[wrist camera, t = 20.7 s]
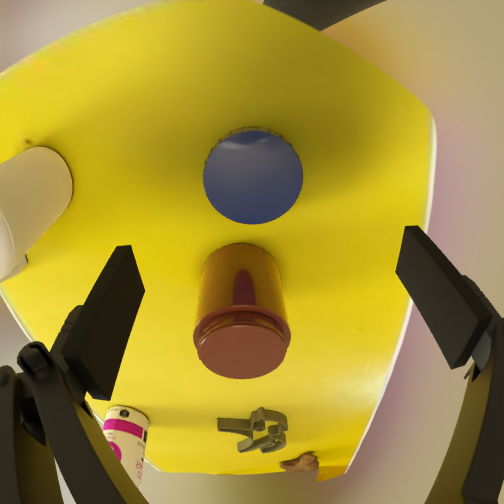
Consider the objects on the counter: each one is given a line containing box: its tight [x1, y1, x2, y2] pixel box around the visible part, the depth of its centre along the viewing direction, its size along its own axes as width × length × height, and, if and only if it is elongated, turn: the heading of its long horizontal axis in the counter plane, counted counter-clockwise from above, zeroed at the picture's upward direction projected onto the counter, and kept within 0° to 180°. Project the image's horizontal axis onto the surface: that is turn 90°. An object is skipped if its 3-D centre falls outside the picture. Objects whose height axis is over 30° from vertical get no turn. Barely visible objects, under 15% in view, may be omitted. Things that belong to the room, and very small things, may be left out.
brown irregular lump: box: [279, 454, 319, 472], centre depth 62 cm, size 10×10×4 cm
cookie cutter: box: [217, 407, 288, 453], centre depth 51 cm, size 18×12×2 cm, turn 15°
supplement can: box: [103, 406, 149, 487], centre depth 42 cm, size 8×8×15 cm
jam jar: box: [193, 243, 291, 379], centre depth 28 cm, size 8×8×10 cm
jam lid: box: [203, 127, 303, 224], centre depth 25 cm, size 8×8×2 cm
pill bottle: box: [0, 147, 72, 279], centre depth 19 cm, size 8×8×15 cm
